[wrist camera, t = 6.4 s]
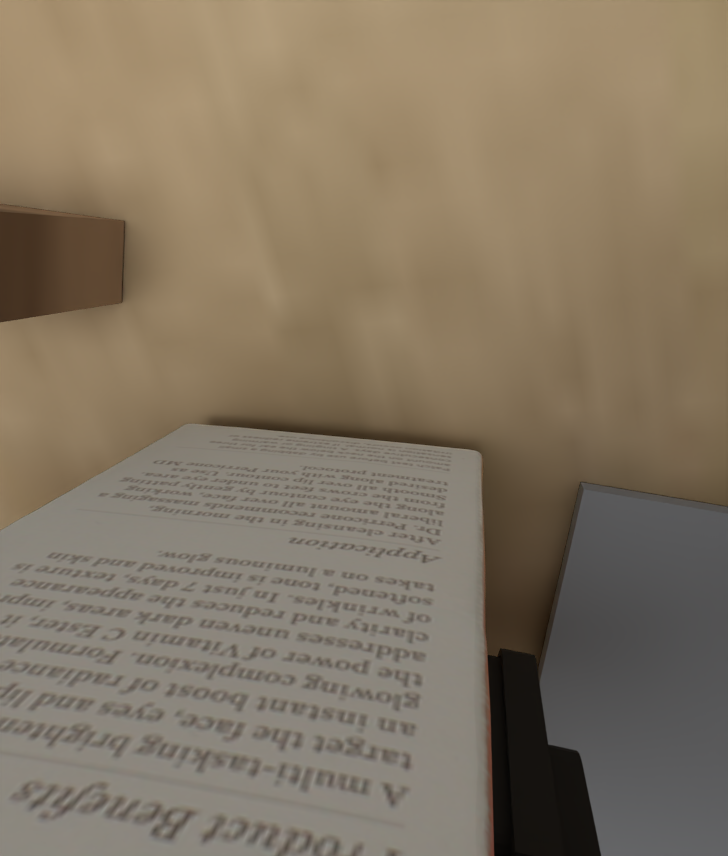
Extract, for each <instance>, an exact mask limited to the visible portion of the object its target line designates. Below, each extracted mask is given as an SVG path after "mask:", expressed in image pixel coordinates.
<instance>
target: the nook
mask: <svg viewBox="0 0 728 856" xmlns="http://www.w3.org/2000/svg"><path fill="white" fill-rule="evenodd" d="M123 246H124V221H121V220H114V219H107V218H100V217H92V216H85V215H78V214H71V213H63V212H56V211H49V210H42V209H34V208H27V207H20V206H13V205H5V204H0V322H5V321H11V320H17V319H24V318H30V317H36V316H42V315H48V314H55V313H61V312H67V311H73V310H79V309H86V308H92V307H98V306H104V305H110V304H117V303H122V275H123Z"/></svg>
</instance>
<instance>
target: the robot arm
mask: <svg viewBox="0 0 728 856" xmlns="http://www.w3.org/2000/svg"><path fill="white" fill-rule="evenodd" d="M487 657H488V676H489V696H490V715H491V752H492V791H493V831H494V856H601V852H600V847H599V842H598V837H597V832H596V827H595V823H594V818H593V813H592V808H591V803H590V798H589V793H588V789H587V784H586V779H585V774H584V769H583V764H582V760H581V757H580V754H579V752H578V751H577V750H572V749H568V748H563V747H558V746H554V745H549V744H548V739H547V732H546V726H545V719H544V712H543V705H542V698H541V691H540V684H539V677H538V670H537V663H536V658H535V656H534V655H531V654H526V653H521V652H516V651H511V650H506V649H500V651H499V654H498V657H495V656H490V655H487Z"/></svg>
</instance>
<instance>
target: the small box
mask: <svg viewBox="0 0 728 856" xmlns="http://www.w3.org/2000/svg"><path fill="white" fill-rule="evenodd" d="M482 478H483V457H482V455H481V454H480V453H479V452H477V451H475V450H469V449H459V448H449V447H439V446H429V445H420V444H410V443H399V442H389V441H379V440H369V439H358V438H348V437H337V436H326V435H316V434H305V433H294V432H283V431H272V430H262V429H251V428H241V427H227V426H214V425H201V424H185V425H183V426H181V427H180V428H178V429H177V430H175V431H173V432H171V433H170V434H168V435H166V436H165V437H163V438H161V439H159V440H157V441H156V442H154V443H152V444H151V445H149V446H147V447H146V448H144V449H142V450H140V451H139V452H137V453H135V454H134V455H132V456H130V457H128V458H126V459H124V460H123V461H121V462H119V463H118V464H116V465H114V466H113V467H111V468H109V469H107V470H106V471H104V472H102V473H100V474H98V475H96V476H95V477H93V478H91V479H89V480H88V481H86V482H84V483H83V484H81V485H79V486H77V487H76V488H74V489H72V490H70V491H69V492H67V493H65V494H63V495H62V496H60V497H58V498H56V499H54V500H53V501H51V502H49V503H48V504H46V505H44V506H42V507H41V508H39V509H37V510H35V511H34V512H32V513H30V514H28V515H26V516H24V517H22V518H21V519H19V520H17V521H15V522H14V523H12V524H10V525H9V526H7V527H6V528H4V529H2V530H0V856H494V831H493V791H492V752H491V715H490V696H489V676H488V657H487V641H486V633H485V541H484V519H483V501H482Z"/></svg>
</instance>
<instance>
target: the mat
mask: <svg viewBox="0 0 728 856" xmlns="http://www.w3.org/2000/svg"><path fill="white" fill-rule="evenodd" d="M538 677H539V684H540V691H541V698H542V705H543V712H544V719H545V726H546V732H547V739H548V744H549V745H554V746H558V747H563V748H568V749H572V750H577V751H578V752H579V754H580V757H581V760H582V764H583V769H584V774H585V779H586V784H587V789H588V793H589V798H590V803H591V808H592V813H593V818H594V823H595V827H596V832H597V837H598V842H599V847H600V852H601V856H728V507H726V506H720V505H714V504H708V503H702V502H696V501H690V500H684V499H678V498H672V497H666V496H660V495H654V494H649V493H643V492H637V491H631V490H625V489H619V488H613V487H607V486H601V485H595V484H589V483H583V482H580V486H579V491H578V495H577V500H576V504H575V509H574V513H573V517H572V522H571V526H570V531H569V535H568V539H567V544H566V548H565V553H564V557H563V561H562V566H561V570H560V575H559V579H558V584H557V588H556V592H555V597H554V601H553V606H552V610H551V614H550V619H549V623H548V628H547V632H546V636H545V641H544V645H543V650H542V654H541V658H540V663H539V667H538Z"/></svg>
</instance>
